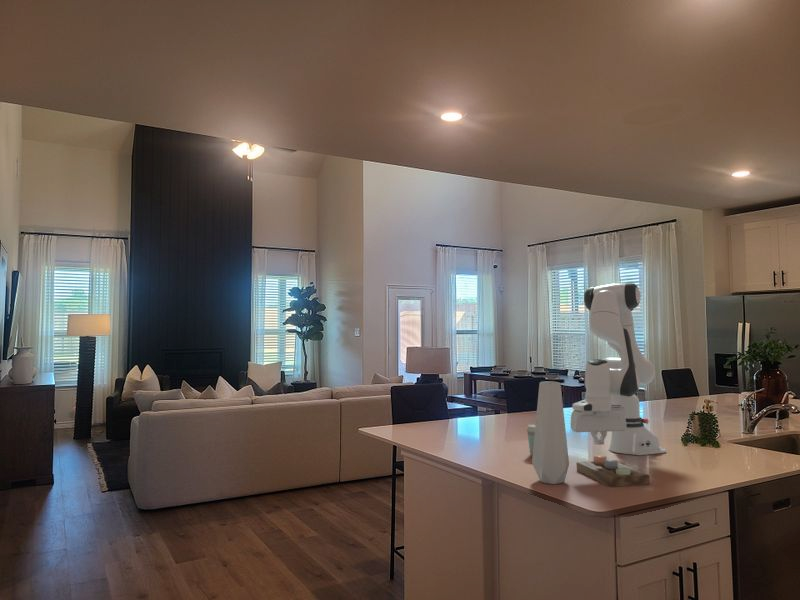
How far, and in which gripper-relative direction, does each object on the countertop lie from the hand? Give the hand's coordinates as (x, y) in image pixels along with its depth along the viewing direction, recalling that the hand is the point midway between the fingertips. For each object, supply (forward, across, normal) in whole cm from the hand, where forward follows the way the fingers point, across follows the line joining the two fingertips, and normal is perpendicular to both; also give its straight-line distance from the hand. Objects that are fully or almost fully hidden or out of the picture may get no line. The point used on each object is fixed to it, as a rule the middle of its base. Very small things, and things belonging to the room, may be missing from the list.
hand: (599, 444), depth 197 cm
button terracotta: (+7, 0, 0) cm, 7 cm away
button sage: (+9, 0, +14) cm, 16 cm away
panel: (+10, 0, +7) cm, 12 cm away
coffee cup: (+10, +10, -30) cm, 33 cm away
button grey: (+7, 0, +7) cm, 10 cm away
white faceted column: (+10, +22, +8) cm, 25 cm away
